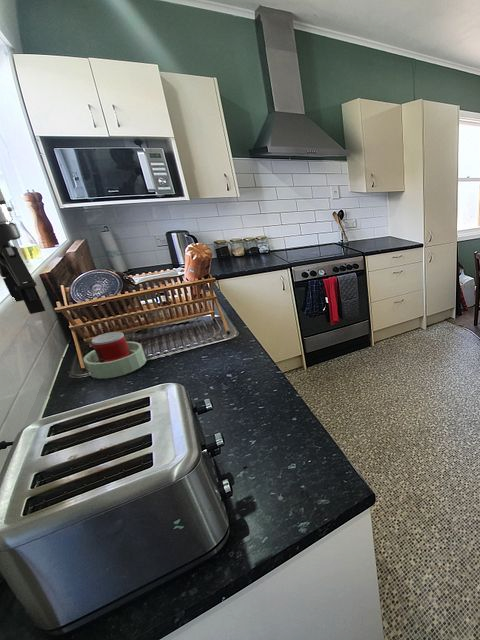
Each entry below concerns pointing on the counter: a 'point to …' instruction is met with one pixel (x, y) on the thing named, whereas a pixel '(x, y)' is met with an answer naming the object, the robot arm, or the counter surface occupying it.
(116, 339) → the canned food
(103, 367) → the bowl
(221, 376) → the counter surface
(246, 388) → the counter surface
